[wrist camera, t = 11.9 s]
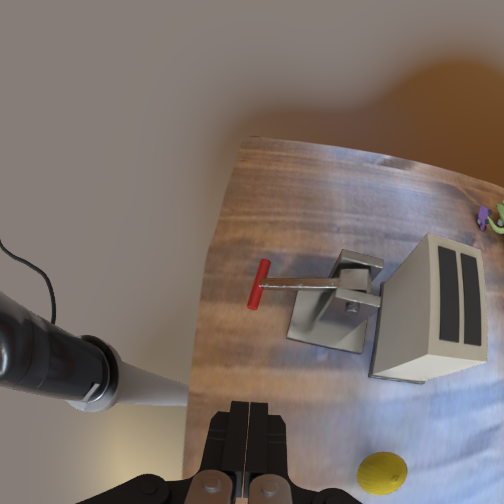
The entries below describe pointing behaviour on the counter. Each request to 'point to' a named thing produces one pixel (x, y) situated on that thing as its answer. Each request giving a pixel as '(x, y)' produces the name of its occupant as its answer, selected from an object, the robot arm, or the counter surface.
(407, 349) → the toaster
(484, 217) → the figurine
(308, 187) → the counter surface
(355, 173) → the counter surface
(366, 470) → the lemon
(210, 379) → the counter surface
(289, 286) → the switch lever
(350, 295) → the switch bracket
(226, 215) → the counter surface
